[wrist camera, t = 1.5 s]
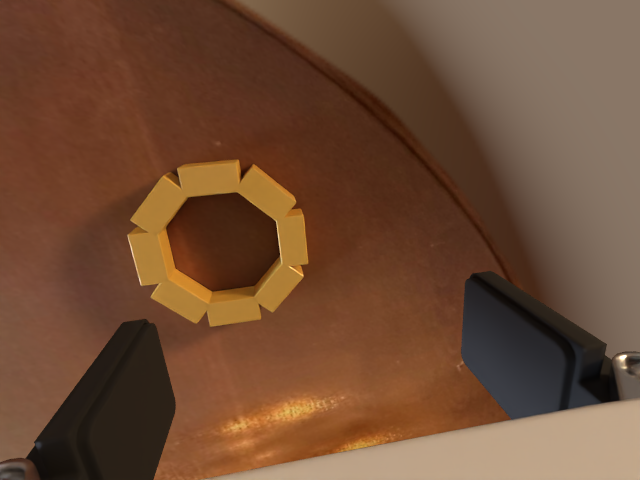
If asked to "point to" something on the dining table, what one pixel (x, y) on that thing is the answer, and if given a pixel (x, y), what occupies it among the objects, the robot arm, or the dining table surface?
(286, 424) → the dining table surface
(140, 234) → the ring
